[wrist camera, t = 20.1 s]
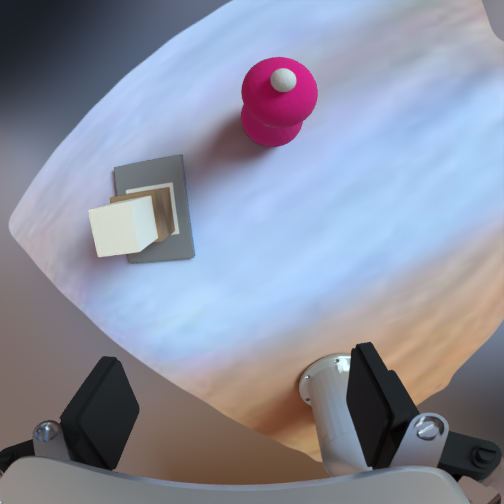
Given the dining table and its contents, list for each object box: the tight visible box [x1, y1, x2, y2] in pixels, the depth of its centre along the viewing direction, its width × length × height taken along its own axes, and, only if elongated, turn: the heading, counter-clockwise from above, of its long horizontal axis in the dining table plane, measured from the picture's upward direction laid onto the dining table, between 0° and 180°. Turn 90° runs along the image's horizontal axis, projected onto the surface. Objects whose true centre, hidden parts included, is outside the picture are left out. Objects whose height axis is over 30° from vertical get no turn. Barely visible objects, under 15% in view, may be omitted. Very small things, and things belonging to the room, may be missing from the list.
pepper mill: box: [241, 57, 318, 147], centre depth 26 cm, size 7×7×20 cm
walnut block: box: [110, 187, 175, 243], centre depth 35 cm, size 6×6×6 cm
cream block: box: [88, 196, 158, 257], centre depth 29 cm, size 5×5×6 cm
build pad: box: [114, 155, 195, 263], centre depth 39 cm, size 14×10×1 cm
